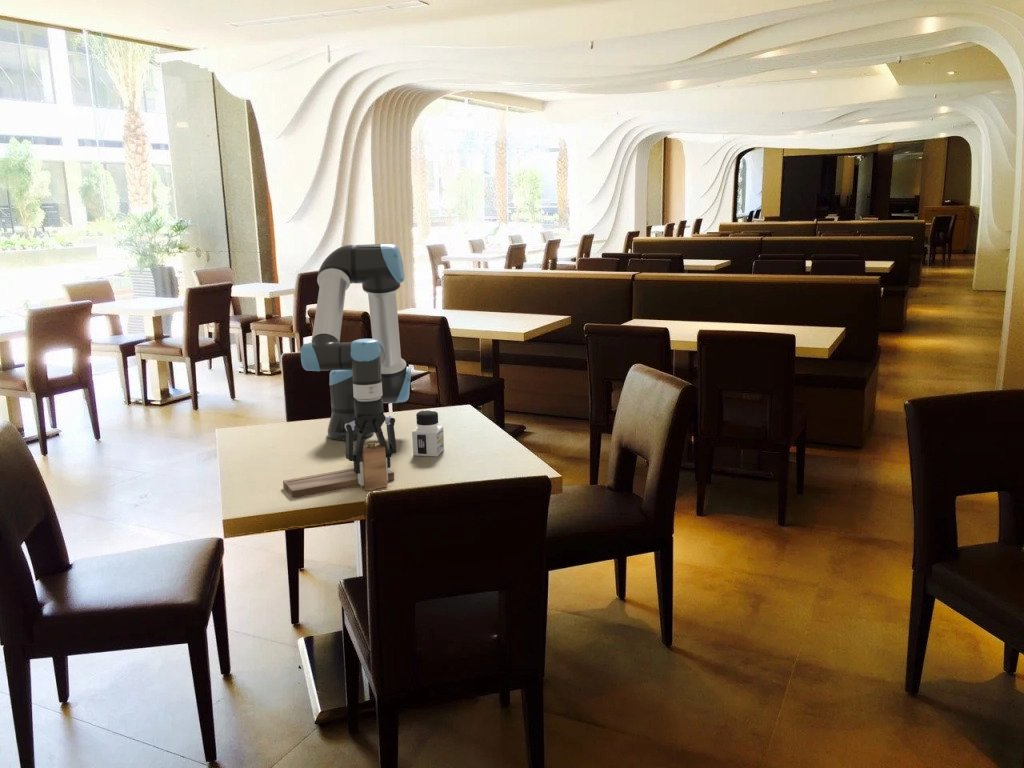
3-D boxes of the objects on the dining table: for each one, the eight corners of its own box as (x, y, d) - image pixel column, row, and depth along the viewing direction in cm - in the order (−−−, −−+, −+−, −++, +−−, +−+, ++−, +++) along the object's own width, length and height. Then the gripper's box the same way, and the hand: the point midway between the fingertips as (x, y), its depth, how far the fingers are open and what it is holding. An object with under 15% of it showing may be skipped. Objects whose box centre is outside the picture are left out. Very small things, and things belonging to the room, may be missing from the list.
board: (283, 487, 221) (282, 480, 221) (381, 469, 235) (381, 462, 234) (293, 498, 213) (292, 490, 212) (394, 479, 226) (393, 472, 226)
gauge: (348, 476, 229) (346, 435, 227) (369, 472, 232) (366, 432, 229) (366, 490, 217) (363, 447, 214) (387, 486, 220) (385, 444, 217)
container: (437, 456, 246) (435, 414, 244) (412, 455, 248) (410, 414, 245) (444, 449, 254) (442, 408, 251) (420, 448, 255) (418, 408, 253)
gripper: (337, 405, 208) (343, 492, 212) (407, 396, 217) (411, 479, 221) (328, 400, 214) (334, 484, 219) (396, 391, 223) (401, 472, 228)
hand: (373, 481), depth 220 cm, fingers closed on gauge, 6 cm apart
